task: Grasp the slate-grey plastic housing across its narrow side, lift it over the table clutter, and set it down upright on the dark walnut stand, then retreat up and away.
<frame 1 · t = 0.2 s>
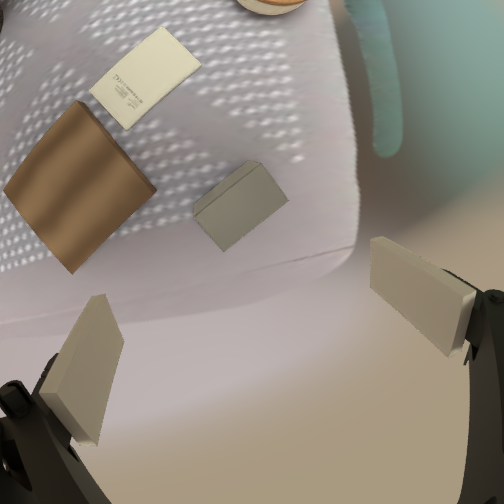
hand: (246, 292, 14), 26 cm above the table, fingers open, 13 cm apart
walnut stand: (77, 187, 34), on the table
housing: (232, 196, 39), on the table
external hard drive: (144, 78, 32), on the table
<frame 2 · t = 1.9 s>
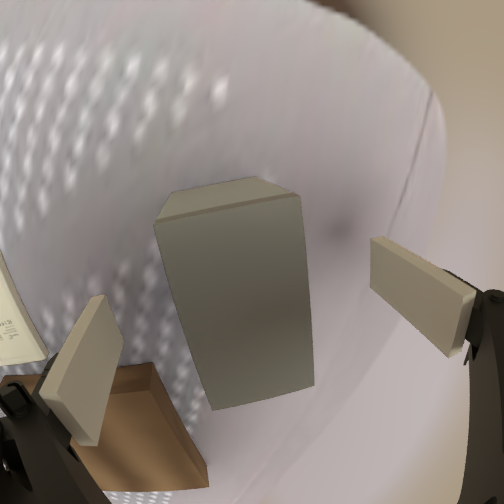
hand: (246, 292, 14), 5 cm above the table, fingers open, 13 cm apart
walnut stand: (106, 432, 22), on the table
housing: (226, 255, 19), on the table
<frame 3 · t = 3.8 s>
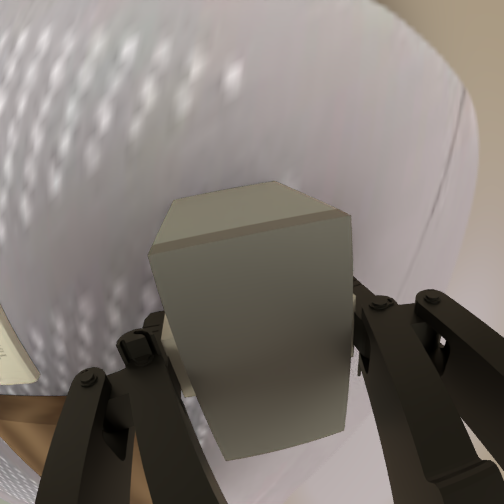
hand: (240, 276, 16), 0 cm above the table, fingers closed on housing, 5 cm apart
walnut stand: (105, 454, 19), on the table
housing: (239, 273, 16), on the table, touching gripper
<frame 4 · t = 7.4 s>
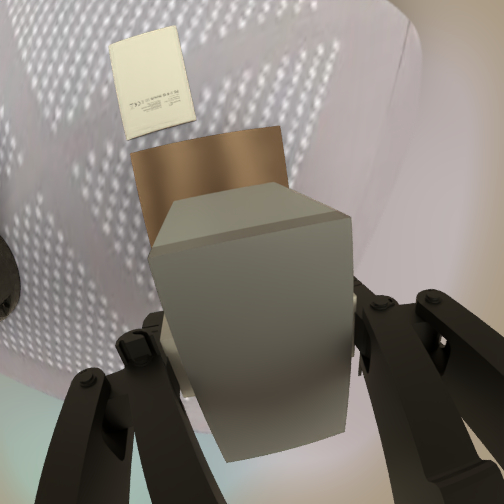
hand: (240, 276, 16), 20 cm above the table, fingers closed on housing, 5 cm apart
walnut stand: (216, 205, 35), on the table
housing: (239, 274, 16), point 20 cm above the table, touching gripper
external hard drive: (151, 82, 29), on the table
when the fingers open (4 cm above the table, at t = 10.7 s): housing stays where it is, resting on walnut stand.
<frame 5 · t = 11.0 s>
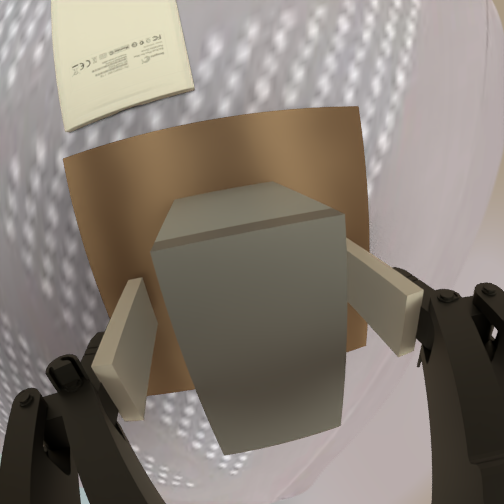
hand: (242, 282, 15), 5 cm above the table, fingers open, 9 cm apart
walnut stand: (232, 252, 19), on the table
housing: (238, 271, 16), point 3 cm above the table, touching walnut stand
external hard drive: (116, 29, 14), on the table
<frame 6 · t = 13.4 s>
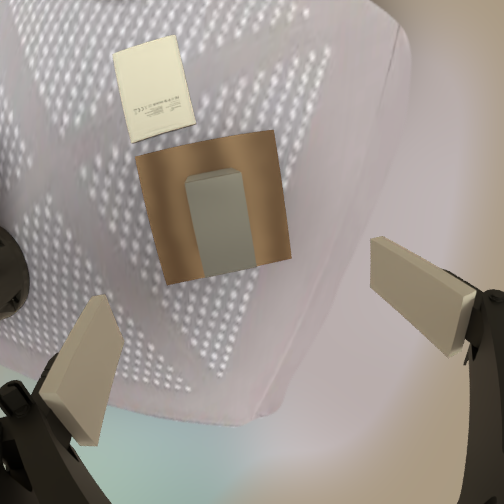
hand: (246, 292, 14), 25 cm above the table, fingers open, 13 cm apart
walnut stand: (215, 204, 37), on the table
housing: (216, 209, 34), point 3 cm above the table, touching walnut stand
external hard drive: (153, 88, 32), on the table
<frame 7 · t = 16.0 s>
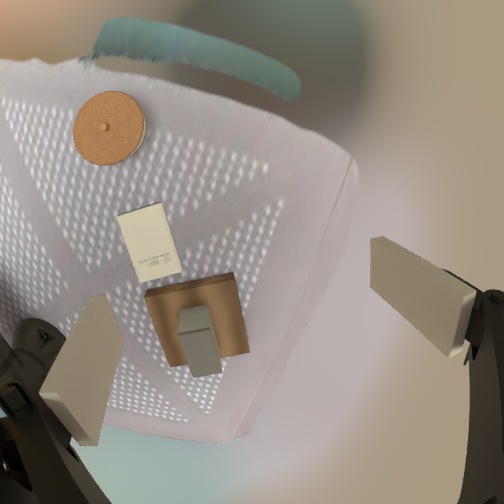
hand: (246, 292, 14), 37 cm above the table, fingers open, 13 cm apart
walnut stand: (199, 319, 55), on the table
housing: (199, 328, 52), point 3 cm above the table, touching walnut stand
external hard drive: (150, 241, 50), on the table
lidded jar: (120, 130, 42), on the table
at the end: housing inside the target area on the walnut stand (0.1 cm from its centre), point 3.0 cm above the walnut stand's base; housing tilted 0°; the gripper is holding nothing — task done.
